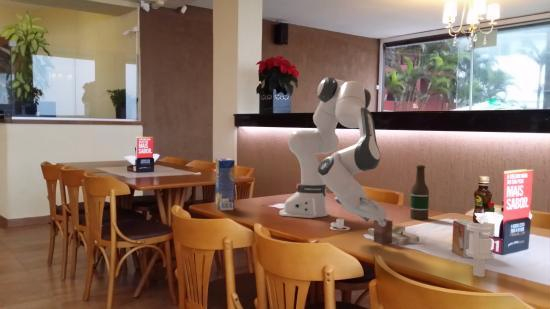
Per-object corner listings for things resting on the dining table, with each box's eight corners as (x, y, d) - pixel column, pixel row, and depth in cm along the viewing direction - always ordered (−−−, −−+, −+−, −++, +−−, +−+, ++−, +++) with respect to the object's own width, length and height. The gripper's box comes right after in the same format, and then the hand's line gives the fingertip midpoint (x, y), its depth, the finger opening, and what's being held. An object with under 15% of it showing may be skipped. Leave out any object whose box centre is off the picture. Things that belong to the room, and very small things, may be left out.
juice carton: (234, 209, 230) (234, 160, 229) (219, 210, 228) (219, 160, 227) (229, 205, 242) (230, 158, 240) (215, 206, 240) (215, 158, 238)
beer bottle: (429, 220, 209) (430, 166, 207) (410, 219, 210) (412, 165, 209) (427, 217, 216) (428, 165, 215) (409, 216, 218) (411, 164, 217)
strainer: (487, 280, 127) (489, 225, 126) (461, 275, 132) (463, 221, 131) (496, 274, 132) (498, 221, 131) (470, 269, 137) (472, 218, 136)
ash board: (399, 244, 165) (399, 238, 165) (368, 233, 181) (368, 228, 181) (419, 242, 169) (419, 236, 169) (386, 231, 185) (387, 226, 185)
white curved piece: (329, 226, 196) (329, 216, 196) (348, 226, 196) (348, 217, 195) (330, 231, 187) (330, 221, 187) (351, 231, 187) (351, 221, 187)
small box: (451, 251, 157) (452, 219, 157) (467, 251, 158) (468, 219, 157) (463, 258, 149) (464, 225, 149) (480, 257, 150) (481, 224, 149)
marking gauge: (381, 244, 165) (382, 219, 165) (373, 241, 169) (374, 217, 169) (407, 241, 170) (408, 217, 170) (399, 238, 174) (399, 215, 174)
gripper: (377, 193, 153) (400, 221, 158) (342, 186, 171) (363, 211, 176) (365, 208, 151) (389, 235, 156) (331, 198, 170) (353, 223, 175)
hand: (375, 222), depth 166 cm, fingers open, 8 cm apart
